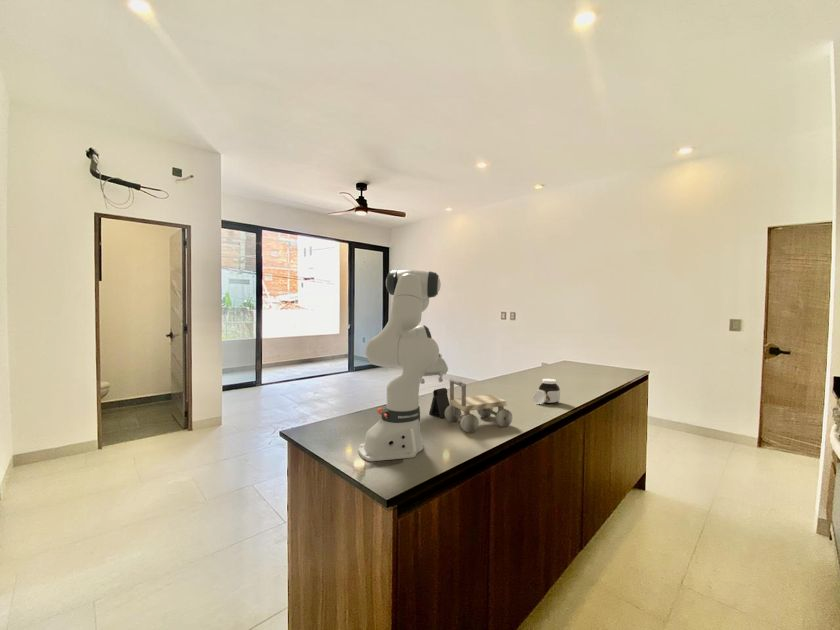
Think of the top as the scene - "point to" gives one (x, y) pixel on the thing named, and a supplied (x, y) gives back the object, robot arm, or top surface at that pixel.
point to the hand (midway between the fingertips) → (432, 382)
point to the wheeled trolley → (478, 403)
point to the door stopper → (439, 403)
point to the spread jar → (547, 392)
